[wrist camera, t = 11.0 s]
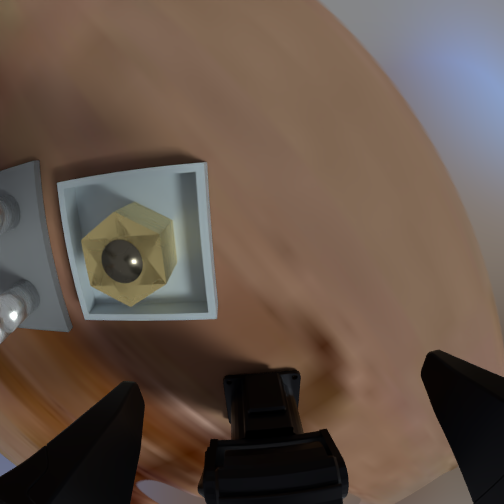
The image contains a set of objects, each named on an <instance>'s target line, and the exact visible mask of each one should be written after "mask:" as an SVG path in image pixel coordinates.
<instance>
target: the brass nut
mask: <svg viewBox="0 0 504 504" xmlns="http://www.w3.org/2000/svg"><path fill="white" fill-rule="evenodd" d="M81 243H82V249H83V254H84V259H85V264H86V269H87V273H88V278H89V282H90V286H91V287H93V288H95V289H97V290H99V291H101V292H103V293H104V294H106V295H108V296H110V297H112V298H114V299H116V300H118V301H120V302H122V303H124V304H126V305H128V306H130V307H132V306H133V305H135V304H136V303H138V302H139V301H141V300H143V299H144V298H146V297H147V296H149V295H150V294H152V293H153V292H155V291H156V290H158V289H159V288H161V287H163V286H164V285H166V284H167V282H168V280H169V278H170V276H171V274H172V272H173V270H174V268H175V266H176V264H177V255H176V246H175V237H174V228H173V220H171V219H169V218H167V217H165V216H163V215H161V214H159V213H157V212H155V211H153V210H151V209H149V208H147V207H145V206H143V205H141V204H139V203H137V202H133V203H131V204H128V205H126V206H124V207H122V208H120V209H118V210H116V211H114V212H113V213H112V214H111V215H109V216H108V217H107V218H106V219H105V220H103V221H102V222H101V223H100V224H99V225H98V226H96V227H95V228H94V229H93V230H92V231H91V232H90V233H88V234H87V235H86V236H85V237H84V238H83V239H82V240H81Z"/></svg>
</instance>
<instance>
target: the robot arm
mask: <svg viewBox="0 0 504 504" xmlns="http://www.w3.org/2000/svg"><path fill="white" fill-rule="evenodd" d="M294 375H296V376H295V377H293V376H294ZM421 378H422V381H423V383H424V386H425V389H426V391H427V394H428V396H429V399H430V402H431V405H432V407H433V410H434V412H435V415H436V417H437V419H438V421H439V423H440V425H441V427H442V429H443V432H444V434H445V436H446V438H447V440H448V442H449V445H450V447H451V449H452V451H453V454H454V456H455V458H456V460H457V463H458V465H459V468H460V470H461V472H462V474H463V477H464V480H465V482H466V484H467V487H468V490H469V492H470V495H471V498H472V501H473V502H474V504H504V377H502V376H499V375H497V374H495V373H492V372H490V371H487V370H485V369H483V368H480V367H478V366H476V365H473V364H471V363H469V362H466V361H464V360H462V359H459V358H457V357H455V356H452V355H450V354H448V353H446V352H443V351H441V350H435V351H431V352H429V353H428V354H427V355H426V358H425V361H424V364H423V367H422V370H421ZM300 379H301V376H300V373H299V371H297V370H292V371H283V372H272V373H260V374H245V375H228V376H225V377H224V379H223V384H224V391H225V398H226V405H227V411H228V418H229V423H230V424H231V440H218V439H211V440H210V447H208V448H207V451H206V452H205V464H204V470H203V473H202V476H201V479H200V481H199V484H198V493H199V494H200V495H202V496H203V497H204V498H205V501H206V503H207V504H343V498H345V497H346V496H347V494H348V487H349V482H348V473H347V468H346V465H345V462H344V460H343V457H342V456H341V454H340V452H339V450H338V448H337V447H336V445H335V443H334V441H333V439H332V438H331V436H330V434H329V432H328V430H327V429H322V430H319V431H316V432H310V433H304V432H303V428H302V424H301V420H300V416H299V412H298V402H299V391H300ZM228 381H230V382H228ZM144 409H145V404H144V400H143V397H142V394H141V392H140V389H139V386H138V384H137V383H136V382H131V381H123V382H121V383H120V384H119V385H118V386H117V387H115V388H114V389H113V390H112V391H111V392H109V393H108V394H107V395H106V396H105V397H103V398H102V399H101V400H100V401H99V402H97V403H96V404H95V405H94V406H93V407H91V408H90V409H89V410H88V411H87V412H85V413H84V414H83V415H82V416H81V417H79V418H78V419H77V420H76V421H75V422H73V423H72V424H71V425H70V426H68V427H67V428H66V429H65V430H64V431H62V432H61V433H60V434H59V435H57V436H56V437H55V438H54V439H53V440H51V441H50V442H49V443H48V444H47V446H44V447H43V448H41V449H40V450H39V451H38V452H36V453H35V454H34V455H32V456H31V457H30V458H28V459H27V460H26V461H24V462H23V463H21V464H20V465H18V466H17V467H15V468H14V469H12V470H10V471H9V472H7V473H5V474H4V475H2V476H0V504H130V501H131V496H132V490H133V485H134V480H135V474H136V469H137V465H138V460H139V455H140V449H141V439H142V428H143V418H144Z"/></svg>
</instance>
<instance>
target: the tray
mask: <svg viewBox="0 0 504 504" xmlns="http://www.w3.org/2000/svg"><path fill="white" fill-rule="evenodd" d="M57 188H58V196H59V204H60V212H61V218H62V225H63V231H64V236H65V242H66V247H67V252H68V257H69V261H70V266H71V270H72V274H73V278H74V282H75V286H76V290H77V294H78V298H79V301H80V305H81V308H82V311H83V315H84V318H85V320H127V321H150V320H198V319H217V311H218V299H217V289H216V279H215V268H214V256H213V244H212V231H211V218H210V203H209V188H208V171H207V162H202V163H190V164H179V165H169V166H160V167H151V168H143V169H135V170H128V171H121V172H114V173H107V174H101V175H95V176H89V177H84V178H78V179H73V180H68V181H63V182H58V183H57ZM133 202H137V203H139V204H141V205H143V206H145V207H147V208H149V209H151V210H153V211H155V212H157V213H159V214H161V215H163V216H165V217H167V218H169V219H171V220H173V228H174V237H175V246H176V255H177V264H176V266H175V268H174V270H173V272H172V274H171V276H170V278H169V280H168V282H167V284H166V285H164V286H163V287H161V288H159V289H158V290H156V291H155V292H153V293H152V294H150V295H149V296H147V297H146V298H144V299H143V300H141V301H139V302H138V303H136V304H135V305H133V306H132V307H130V306H128V305H126V304H124V303H122V302H120V301H118V300H116V299H114V298H112V297H110V296H108V295H106V294H104V293H103V292H101V291H99V290H97V289H95V288H93V287H91V286H90V282H89V278H88V273H87V269H86V264H85V259H84V254H83V249H82V243H81V240H82V239H83V238H84V237H85V236H86V235H87V234H88V233H90V232H91V231H92V230H93V229H94V228H95V227H96V226H98V225H99V224H100V223H101V222H102V221H103V220H105V219H106V218H107V217H108V216H109V215H111V214H112V213H113V212H114V211H116V210H118V209H120V208H122V207H124V206H126V205H128V204H131V203H133Z"/></svg>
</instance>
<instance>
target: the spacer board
mask: <svg viewBox="0 0 504 504" xmlns="http://www.w3.org/2000/svg"><path fill="white" fill-rule="evenodd" d="M6 195H11V196H13V197H14V198H15V199H16V200H17V202H18V204H19V207H20V221H19V224H18V226H17V227H16V228H15V229H12V230H10V231H8V232H6V233H4V234H1V235H0V295H1V294H3V293H4V292H5V291H7V290H8V289H9V288H11V287H12V286H13V285H15V284H16V283H17V282H19V281H20V280H22V279H25V280H28V281H30V282H31V283H32V284H33V285H34V286H35V287H36V289H37V291H38V293H39V296H40V304H39V307H38V308H37V309H36V310H35V311H33V312H32V313H31V314H30V315H29V316H28V317H27V318H26V319H25V320H24V321H23V322H22V323H21V324H20V325H19V326H18V327H19V328H28V329H38V330H49V331H62V332H69V331H70V330H71V329H72V324H71V321H70V318H69V315H68V311H67V308H66V305H65V302H64V298H63V295H62V291H61V288H60V284H59V280H58V276H57V272H56V268H55V264H54V259H53V255H52V250H51V245H50V240H49V235H48V229H47V224H46V217H45V211H44V204H43V196H42V187H41V176H40V163H39V160H36V161H31V162H28V163H24V164H21V165H18V166H15V167H11V168H8V169H5V170H2V171H0V197H2V196H6Z"/></svg>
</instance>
